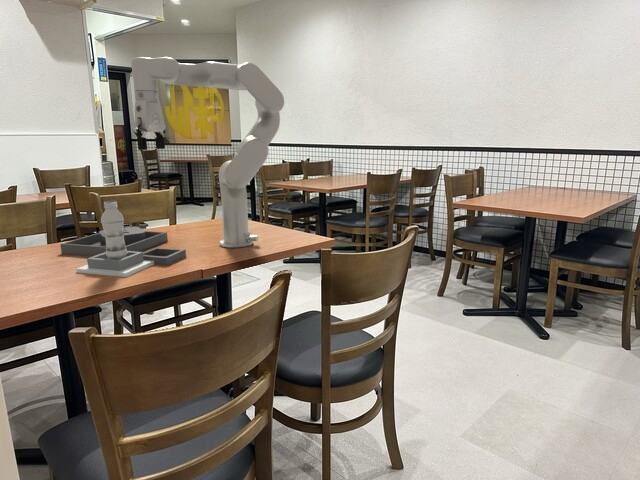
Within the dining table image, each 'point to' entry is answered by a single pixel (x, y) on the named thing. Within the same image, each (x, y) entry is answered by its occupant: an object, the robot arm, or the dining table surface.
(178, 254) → the tray
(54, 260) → the dining table surface
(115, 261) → the board
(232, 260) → the dining table surface
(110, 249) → the plastic bottle
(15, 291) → the dining table surface
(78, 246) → the dark grey organizer tray
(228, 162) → the robot arm
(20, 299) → the dining table surface
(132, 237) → the streaming box
